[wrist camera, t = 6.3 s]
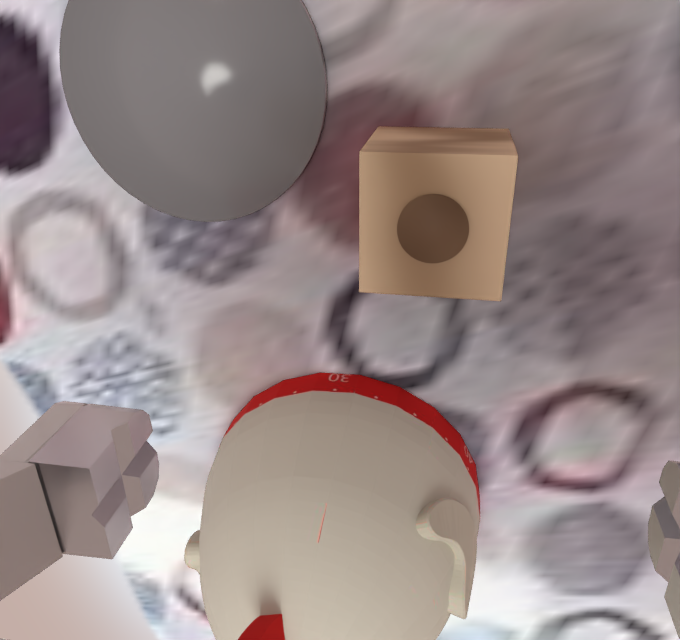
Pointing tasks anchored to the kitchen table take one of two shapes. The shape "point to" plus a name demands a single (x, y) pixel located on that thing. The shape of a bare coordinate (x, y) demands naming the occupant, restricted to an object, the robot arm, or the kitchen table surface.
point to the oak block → (435, 211)
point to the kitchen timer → (337, 516)
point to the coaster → (196, 98)
